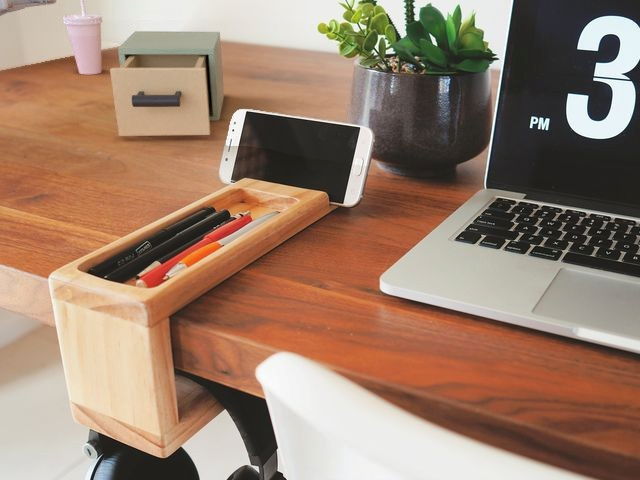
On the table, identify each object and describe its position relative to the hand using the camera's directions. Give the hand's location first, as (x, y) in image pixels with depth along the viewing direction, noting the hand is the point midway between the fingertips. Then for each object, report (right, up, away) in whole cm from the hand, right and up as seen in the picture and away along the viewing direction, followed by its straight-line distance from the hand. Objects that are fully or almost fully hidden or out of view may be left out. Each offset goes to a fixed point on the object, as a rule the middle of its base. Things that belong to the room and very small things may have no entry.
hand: (31, 0), depth 128 cm
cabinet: (+32, -24, -20) cm, 45 cm away
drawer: (+33, -29, -32) cm, 54 cm away
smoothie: (+10, -13, 0) cm, 17 cm away
